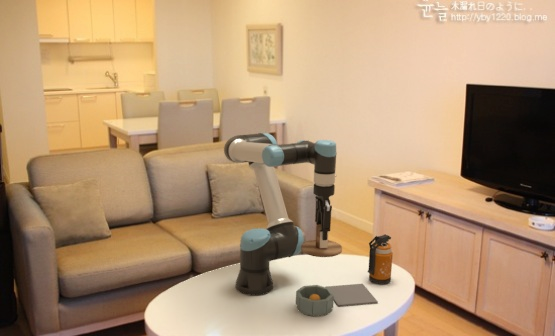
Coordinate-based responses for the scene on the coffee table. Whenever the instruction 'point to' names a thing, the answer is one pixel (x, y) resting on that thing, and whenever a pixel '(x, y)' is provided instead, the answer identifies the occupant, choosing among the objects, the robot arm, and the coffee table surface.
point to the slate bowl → (314, 306)
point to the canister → (380, 260)
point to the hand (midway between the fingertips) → (321, 245)
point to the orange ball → (314, 297)
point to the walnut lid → (314, 248)
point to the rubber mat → (352, 295)
